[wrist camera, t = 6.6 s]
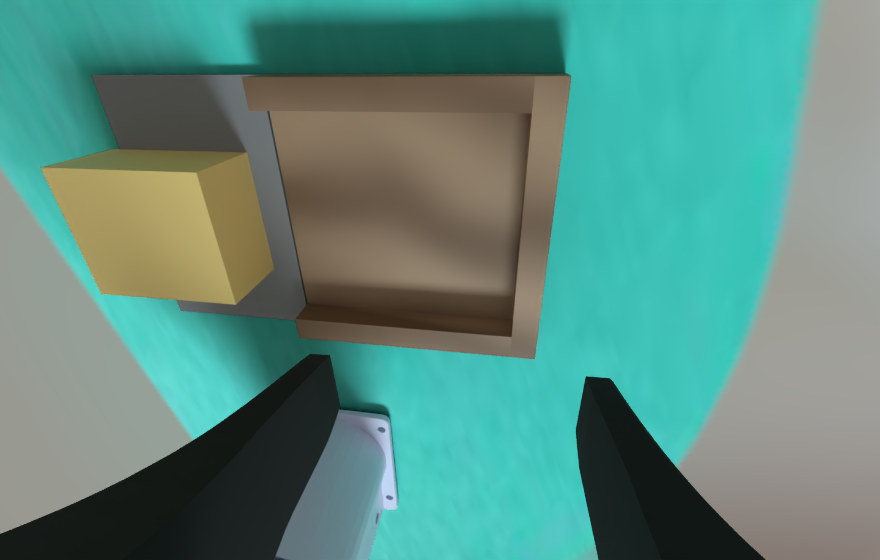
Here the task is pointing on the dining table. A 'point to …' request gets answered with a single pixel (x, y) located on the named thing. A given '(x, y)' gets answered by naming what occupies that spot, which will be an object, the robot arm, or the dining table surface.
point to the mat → (216, 130)
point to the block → (165, 222)
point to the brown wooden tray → (420, 203)
